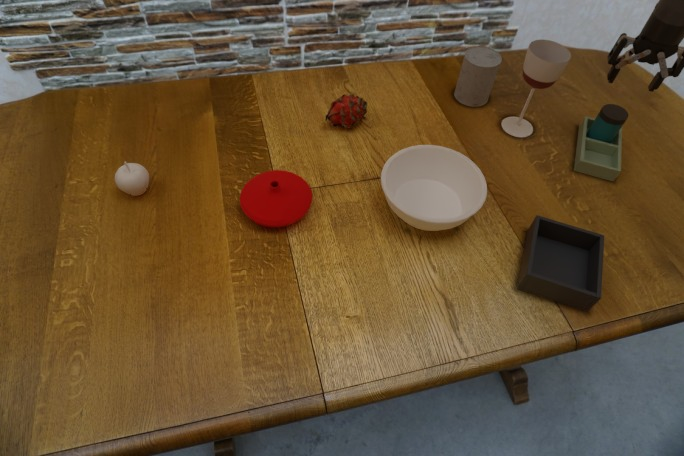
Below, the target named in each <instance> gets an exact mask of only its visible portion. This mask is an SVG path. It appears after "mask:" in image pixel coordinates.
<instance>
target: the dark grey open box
mask: <svg viewBox="0 0 684 456" xmlns="http://www.w3.org/2000/svg"><path fill="white" fill-rule="evenodd" d="M531 222H532V223H531V224H530V226H529V227H528V229H527V231H526V236H525V240H524V241H525V242H524V247H523V252H522V258H521V262H520V268H519V274H518V279H517V285H516V290H520V291H522V292H524V293H525V292H526V293H529V294H531V295H535V296H538V297H540V298H544V299H547V300H550V301H552V302H556V303H559V304H562V305H564V306H567V307H571V308H573V309H577V310H579V311H582V312H585V313H588V312H589V311H590V310H591V309H592V308H593V307H594V306H596V304H597V303H598V302H599V301H600V300H601V299H602V288H603V287H602V286H603V269H604V268H603V267H604V248H605V235H604V234H601V233H598V232H595V231H591V230H588V229H585V228H581V227H579V226H574V225H571V224H568V223H564V222H561V221H558V220H554V219H552V218H548V217H545V216H542V215H537V214H536V215H535V217H534V218H533V220H532V221H531Z"/></svg>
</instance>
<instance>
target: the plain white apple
mask: <svg viewBox="0 0 684 456" xmlns="http://www.w3.org/2000/svg"><path fill="white" fill-rule="evenodd" d="M114 182H115V185H116V187H117V188H118V189H119V190H120V191H122V192H123V193H126V194H128V195H130V194H131V195H130V196H133V197H138V196H141V195H143V194H145V192H146V191H147V190H148V188H149V184H150V174H149V171H148V169H146V167H145V166H144V165H142V164H140V163H137V162H127V161H123V165H121V166H120V167H118V169H117V170H116V172H115V173H114ZM146 188H147V189H146ZM143 191H144V192H143ZM142 192H143V193H142ZM139 193H141V194H139ZM135 194H137V195H135Z"/></svg>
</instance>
